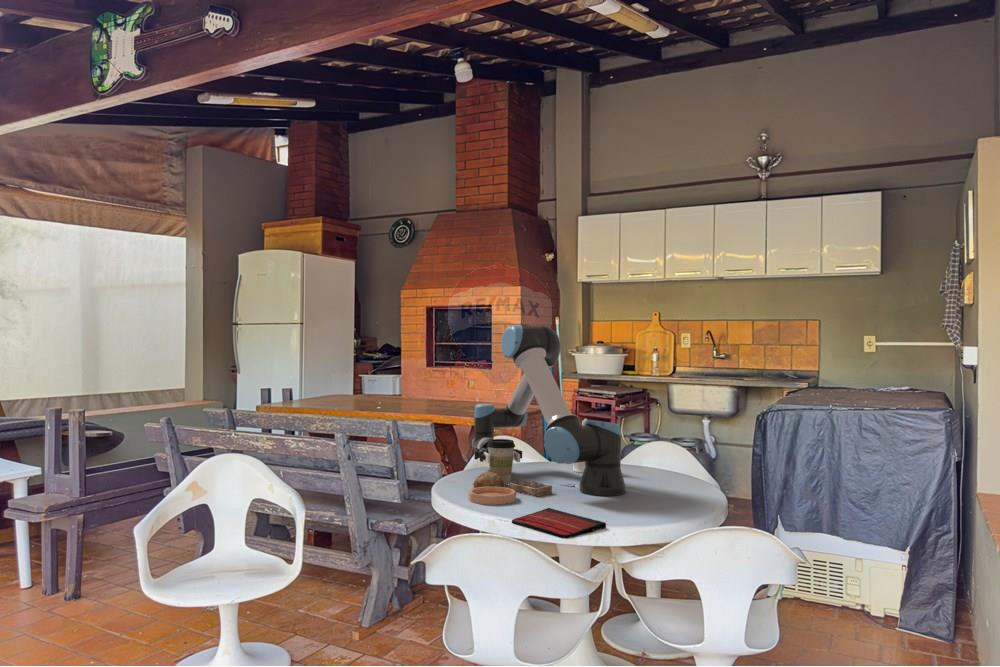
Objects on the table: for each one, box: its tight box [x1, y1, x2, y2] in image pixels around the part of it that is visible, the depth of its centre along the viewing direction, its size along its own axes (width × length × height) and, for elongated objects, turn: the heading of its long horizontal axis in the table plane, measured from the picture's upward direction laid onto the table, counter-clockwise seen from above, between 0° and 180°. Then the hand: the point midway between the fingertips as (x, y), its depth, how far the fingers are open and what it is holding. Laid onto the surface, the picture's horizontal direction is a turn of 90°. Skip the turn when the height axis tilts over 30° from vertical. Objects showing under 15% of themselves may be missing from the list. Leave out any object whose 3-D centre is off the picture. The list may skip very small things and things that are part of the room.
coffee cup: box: [487, 438, 516, 486], centre depth 238 cm, size 10×10×15 cm
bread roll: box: [472, 471, 505, 488], centre depth 227 cm, size 10×10×8 cm
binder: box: [511, 507, 607, 539], centre depth 185 cm, size 16×2×21 cm
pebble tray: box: [508, 479, 553, 497], centre depth 226 cm, size 12×8×3 cm, turn 44°
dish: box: [467, 486, 517, 506], centre depth 215 cm, size 14×14×2 cm
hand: (504, 458), depth 234 cm, fingers closed on coffee cup, 10 cm apart
